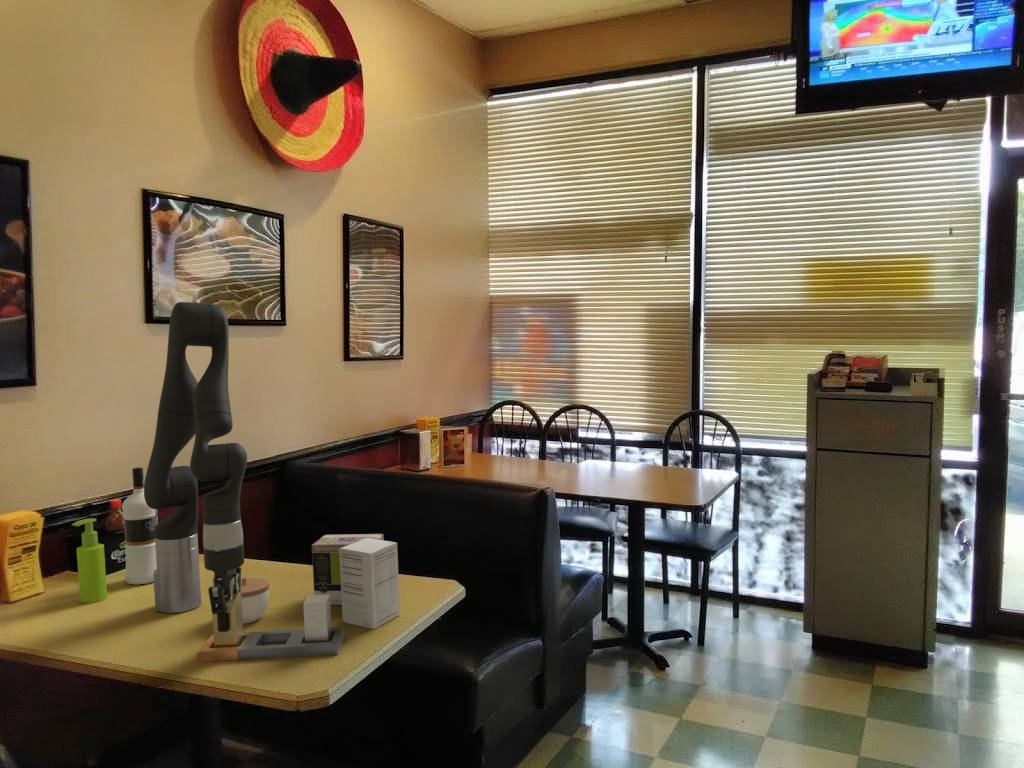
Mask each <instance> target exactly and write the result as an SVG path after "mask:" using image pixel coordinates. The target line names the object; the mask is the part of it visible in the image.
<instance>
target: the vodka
mask: <svg viewBox="0 0 1024 768" xmlns="http://www.w3.org/2000/svg"><path fill="white" fill-rule="evenodd" d="M144 482H145V477H144V468H143V467H133V468H132V485H133V487H132V488H133V492H132V494H131V495H129V496H128V497H127V498H126V499H124V501H123V502H122V505H121V507H122V508H121V509H122V518H123V528H124V540H125V541H124V542H125V544H124V548H125V572H124V582H126V583H127V584H129V585H131V584H133V585H132V586H141V585H140V584H144V585H148V583H149V584H152V583H153V584H154V576H153V572H154V571H155V570H156V569H157V567H156V550H155V534H154V528H155V526H156V525H157V524H158V523H159V519H158V518H159V517H158V509H152V508H150V507H149V506H148V505H147V504H146V501H145V498H144Z"/></svg>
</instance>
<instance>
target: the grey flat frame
mask: <svg viewBox="0 0 1024 768" xmlns="http://www.w3.org/2000/svg"><path fill="white" fill-rule="evenodd" d="M331 629H332V641H331V642H322V643H305V628H304V629H285V630H283V629H282V630H266V631H264V630H263V631H246V632H245V631H243V637H244V640H243V641H242V643H241V644H240V645H239V647H225V648H214V636H213V633H212V634H211V635H210V637H209V638H208V639H207V641H206V642H205V643H203V645H202V646H201V648H200V649H199V650H198V651H197V659H198V662H200V663H201V662H202V663H203V662H204V663H205V662H219V661H220V662H221V661H222V662H223V661H240V660H242V661H243V660H258V659H276V658H297V657H314V656H316V657H317V656H332V655H333V656H337V655H339V653H340V650H341V647H342V645H343V643H344V639H345V638H346V637H345V636H346V634H345V627H344V626H343V627H331ZM278 643H280V644H278ZM283 643H285V644H283ZM263 644H264V645H263ZM266 644H268V645H266Z"/></svg>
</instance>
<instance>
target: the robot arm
mask: <svg viewBox="0 0 1024 768" xmlns="http://www.w3.org/2000/svg"><path fill="white" fill-rule="evenodd" d="M168 328H169V329H168V337H167V338H168V339H167V351H166V363H165V364H166V365H165V369H164V370H165V371H164V376H163V377H164V378H163V382H162V383H163V384H162V387H161V388H162V389H161V393H160V397H159V398H160V399H159V406H158V409H157V411H158V412H157V419H156V427H155V435H154V439H153V440H154V441H153V445H152V446H153V447H152V450H151V454H150V455H151V456H150V458H149V462H148V465H147V468H146V469H147V470H146V474H145V477H144V498H145V501H146V504H147V505H148V506H149V507H150V508H152V509H157V510H164V509H169V508H175V509H174V511H173V512H172V513H171V514H170V515H169V516H168V517H166V518H164V519H163V520H161V521H158V524H157V525H156V526H155V528H154V534H155V550H156V567H157V569H156V570H155V571H154V572H153V576H154V582H153V589H154V590H153V591H154V606H155V612H161V613H166V614H174V613H175V614H176V613H183V612H188V611H191V610H193V609H197V608H198V607H200V606H201V604H202V593H201V577H200V575H201V574H200V571H201V570H200V559H199V558H200V554H199V539H198V538H199V537H198V523H199V487H198V486H199V483H198V481H199V482H209V481H210V482H211V481H218V480H219V481H220V480H227V479H228V480H227V482H226V483H225V484H224V486H222V487H221V488H218V489H216V490H212V491H209V492H207V493H206V494H204V495H203V496H202V500H201V501H202V502H201V503H202V505H201V506H202V519H203V524H202V525H203V527H202V543H203V545H202V546H203V561H204V562H203V564H204V566H203V567H204V569H206V570H207V571H211V572H213V573H214V575H213V578H212V582H211V583H212V586H209V587H208V589H207V591H208V596H209V601H210V608H211V612H212V613H211V615H212V614H217V622H218V631H219V632H228V631H229V630H230V615H229V611H230V609H229V608H230V605H229V601H231V599H232V596H233V593H238V592H240V589H241V579H242V566H243V565H244V563H245V552H244V551H245V550H244V531H243V530H244V529H243V525H242V519H241V491H242V485H243V480H244V476H245V472H246V468H247V464H248V455H247V451H246V449H245V448H244V446H243V445H241V444H240V443H238V442H229V443H228V442H227V443H217V444H209V442H210V441H213V440H214V439H218V438H221V437H224V436H226V435H228V434H230V433H231V432H232V430H233V418H232V410H231V409H232V408H231V403H230V401H231V400H230V396H229V395H230V394H229V360H230V359H229V357H230V356H229V355H230V354H229V349H230V347H229V346H230V345H229V344H230V343H229V341H230V340H229V337H230V335H229V333H230V332H229V321H228V315H227V312H226V309H225V308H224V307H223V306H222V305H220V304H215V303H202V302H191V301H178V302H177V303H175V304H174V306H173V308H172V309H171V313H170V318H169V326H168ZM188 346H189V347H191V346H192V347H208V348H209V347H210V348H211V358H210V362H209V364H208V366H207V368H206V369H205V371H204V373H203V375H202V376H201V378H200V380H199V381H198V380H197V379H196V377H195V375H194V374H193V372H192V370H191V367H190V365H189V363H188V360H187V356H186V352H187V347H188ZM193 438H194V444H193V448H192V452H191V456H190V461H189V465H180V466H173V464H174V461H175V460H176V458H177V457H178V455H179V454H180V453H181V451H183V449H184V448H185V447H186V446H187V445H188V444H189V443H190V441H191V440H192V439H193ZM224 595H228V596H227V597H225V596H224ZM219 604H221V607H219Z"/></svg>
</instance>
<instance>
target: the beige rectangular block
mask: <svg viewBox="0 0 1024 768" xmlns="http://www.w3.org/2000/svg"><path fill="white" fill-rule="evenodd" d="M224 596H225V597H227V596H228V595H224ZM229 605H230V608H229V609H230V611H229V615H230V630H229V631H228V632H219V631H218V622H217V614H212V613H211V615H212V617H211V618H212V631H213V633H212V634H213V636H214V648H225V647H239V646H240V644H241V643H242V641H243V640H244V637H243V632H244V624H243V618H242V600H241V592H238V593H233V596H232V599H231V601H229ZM219 607H221V604H219Z"/></svg>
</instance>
